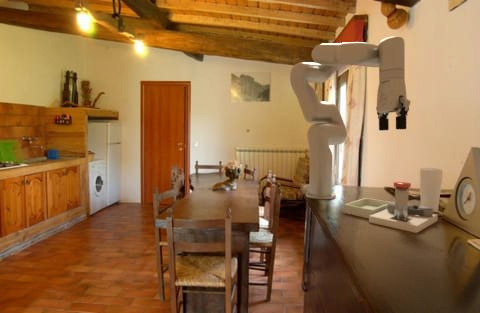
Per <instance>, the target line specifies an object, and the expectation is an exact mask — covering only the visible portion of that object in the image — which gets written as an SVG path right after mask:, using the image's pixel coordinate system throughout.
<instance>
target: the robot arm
mask: <svg viewBox="0 0 480 313" xmlns="http://www.w3.org/2000/svg"><path fill="white" fill-rule="evenodd" d="M405 44H406V43H405V39H404V38H403V37H401V36H390V37H389V36H388V37H385V38H383V39H382V40H380V41H379V43H378V44H377V43H369V42H368V43H367V42H362V41H361V42H359V41H355V42H354V41H353V42H342V43H341V42H340V43H338V42H337V43H321V44H317V45H315V47H313V49H312V50H311V58H312V60H313V62H305V61H304V62H298V63H295V64H294V65H293V66H292V68H291V69H290V74H289V81H290V86H291V89H292V90H293V93H294V94H295V97H296V98H297V101H298V104H299V107H300V109H301V112H302V114H303V115H302V116H303V117H304V120H305V121H306V122H307V123H309V124H311V126H309V127H308V129H307V141H308V149H309V172H308V173H309V181H308V183H309V184H304V185H303V186H302V189H303V190H304V191H305V190H306V192H305V197H306V198H308V199H312V200H313V199H314V200H332V199H335V198H336V196H337V195H336V193H334V192H333V153H332V150H331V148H330V146H338V145H341V144H343V143H345V141H346V140H347V137H348V131H347V127H346V125H345V122H344V120H343V117H342V115H341V112H340V111H339V108H338V106H337V105H336V104H334V103H333V102H330V101H329V102H328V101H322V100H321V99H320V98H319V96H318V94H317V91H316V90H315V89H314V87H313V86H312V85H310V83H313V84H317V83H318V84H323V83H325V82H327V81H328V80H329V79H330V78H331V77H332V76H333V75H334V74H335V73H336V72H337V71H338V70H339V69H340V68H341V67H345V66H346V65H347V66H348V65H349V66H359V67H367V68H378V79H379V80H378V81H379V82H378V88H377V95H376V107H375V109H376V115H377V118H378V131H389V128H390V127H389V118H388V117H389V114H390V113H395V114H396V116H395V130H406V129H407V116H408V112H409V111H410V105H411V100H409V99H407V89H406V82H405V81H406V80H405V76H406V74H405V71H406V70H405V67H406V65H405V64H406V63H405V62H406V61H405V58H406V57H405V52H406V50H405V46H406V45H405Z"/></svg>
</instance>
